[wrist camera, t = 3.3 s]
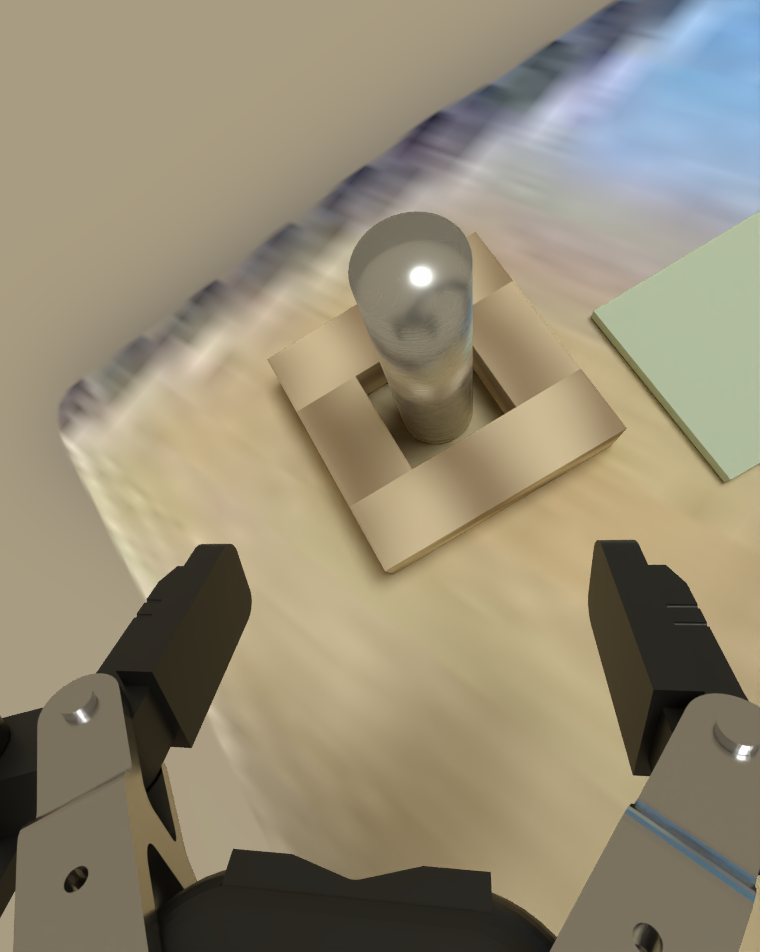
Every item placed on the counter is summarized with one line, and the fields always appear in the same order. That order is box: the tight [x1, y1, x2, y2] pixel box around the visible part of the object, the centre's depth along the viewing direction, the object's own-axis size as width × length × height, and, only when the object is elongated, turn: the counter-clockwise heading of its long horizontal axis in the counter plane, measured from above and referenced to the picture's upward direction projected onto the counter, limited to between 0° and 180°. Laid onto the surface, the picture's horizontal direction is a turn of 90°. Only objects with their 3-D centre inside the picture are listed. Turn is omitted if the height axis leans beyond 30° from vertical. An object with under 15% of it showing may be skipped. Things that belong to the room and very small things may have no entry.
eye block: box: [267, 232, 626, 574], centre depth 25 cm, size 12×12×2 cm
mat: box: [591, 211, 760, 483], centre depth 25 cm, size 10×10×1 cm
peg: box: [348, 212, 473, 444], centre depth 21 cm, size 4×4×12 cm
